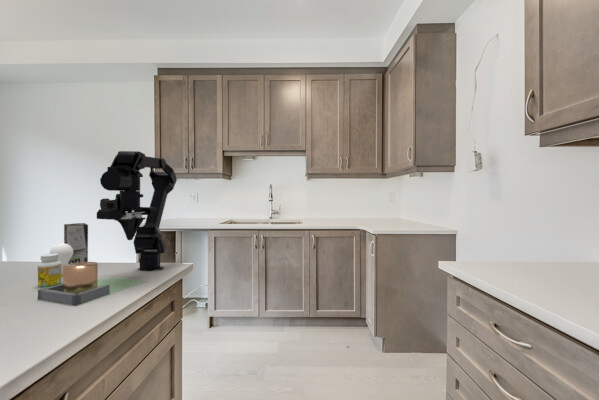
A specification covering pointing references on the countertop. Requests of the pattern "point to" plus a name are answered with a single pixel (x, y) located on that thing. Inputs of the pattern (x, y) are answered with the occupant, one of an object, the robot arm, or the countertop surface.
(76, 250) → the coffee box
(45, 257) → the supplement bottle
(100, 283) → the green
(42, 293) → the shallow gray tray
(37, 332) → the countertop surface
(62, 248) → the lightbulb
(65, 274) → the copper metal cylinder
